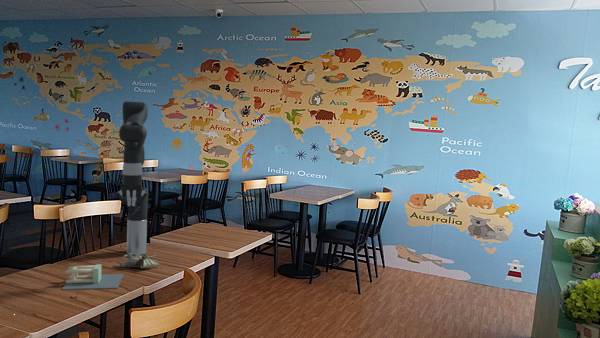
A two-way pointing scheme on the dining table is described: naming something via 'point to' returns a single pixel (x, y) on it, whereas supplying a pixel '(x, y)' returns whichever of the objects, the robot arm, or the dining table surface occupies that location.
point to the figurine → (139, 261)
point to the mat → (105, 283)
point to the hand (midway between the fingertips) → (131, 214)
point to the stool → (84, 269)
